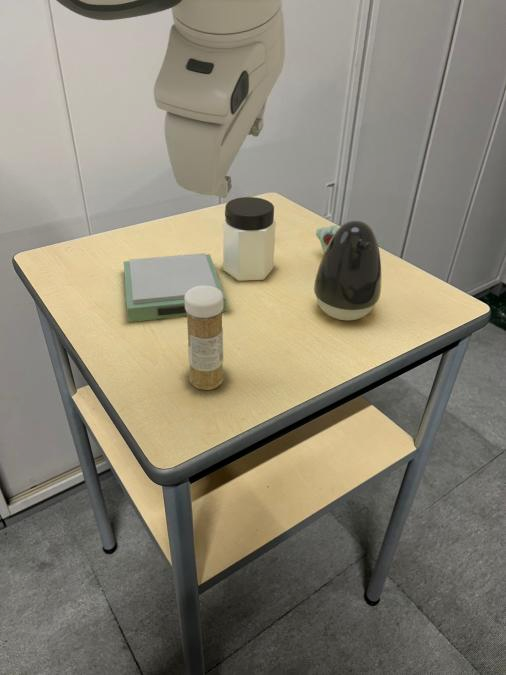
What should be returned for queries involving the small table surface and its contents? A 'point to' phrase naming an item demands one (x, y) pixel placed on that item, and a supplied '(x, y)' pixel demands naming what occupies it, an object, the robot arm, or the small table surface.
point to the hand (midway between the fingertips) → (238, 160)
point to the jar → (248, 238)
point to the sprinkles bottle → (205, 336)
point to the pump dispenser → (349, 273)
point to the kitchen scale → (165, 284)
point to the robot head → (326, 235)
